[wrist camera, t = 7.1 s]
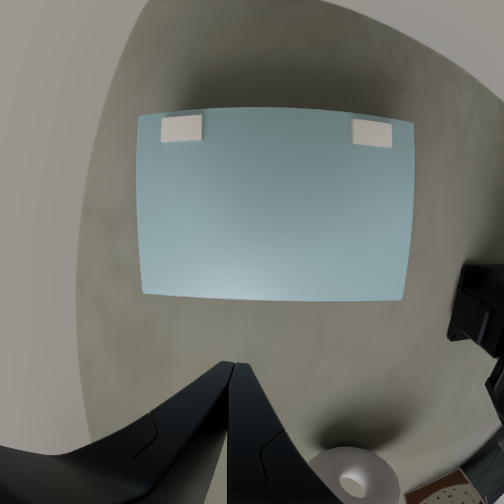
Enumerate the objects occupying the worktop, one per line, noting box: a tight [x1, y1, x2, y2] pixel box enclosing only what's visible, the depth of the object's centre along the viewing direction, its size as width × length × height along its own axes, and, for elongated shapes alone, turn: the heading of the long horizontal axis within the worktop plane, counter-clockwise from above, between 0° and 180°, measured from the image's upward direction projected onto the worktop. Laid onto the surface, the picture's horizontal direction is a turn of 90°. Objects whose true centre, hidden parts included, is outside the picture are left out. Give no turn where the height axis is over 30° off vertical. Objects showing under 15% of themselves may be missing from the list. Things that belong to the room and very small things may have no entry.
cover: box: [136, 107, 415, 301], centre depth 13 cm, size 14×9×1 cm
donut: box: [308, 446, 400, 504], centre depth 17 cm, size 10×4×10 cm, turn 72°
